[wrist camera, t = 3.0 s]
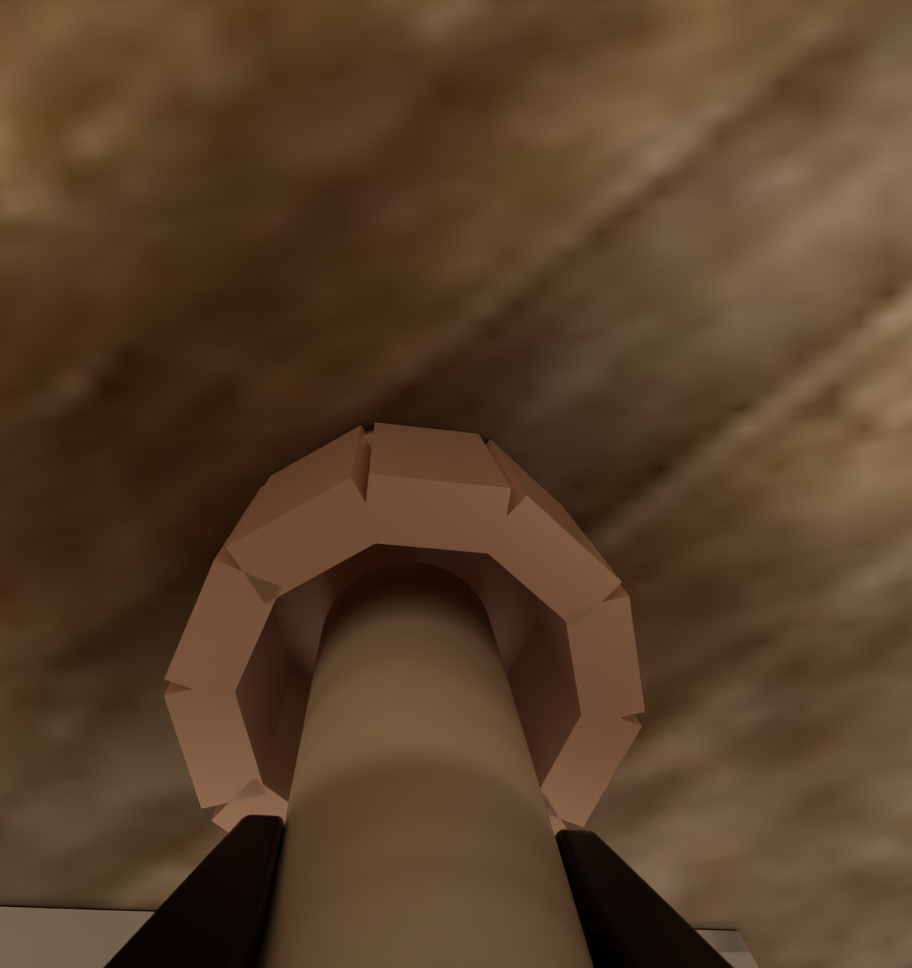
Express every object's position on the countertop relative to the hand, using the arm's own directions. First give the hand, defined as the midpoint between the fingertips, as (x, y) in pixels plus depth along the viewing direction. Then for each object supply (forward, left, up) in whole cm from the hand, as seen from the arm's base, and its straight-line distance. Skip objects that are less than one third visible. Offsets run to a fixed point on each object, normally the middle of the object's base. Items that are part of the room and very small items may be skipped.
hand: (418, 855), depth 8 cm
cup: (0, 0, -7) cm, 7 cm away
